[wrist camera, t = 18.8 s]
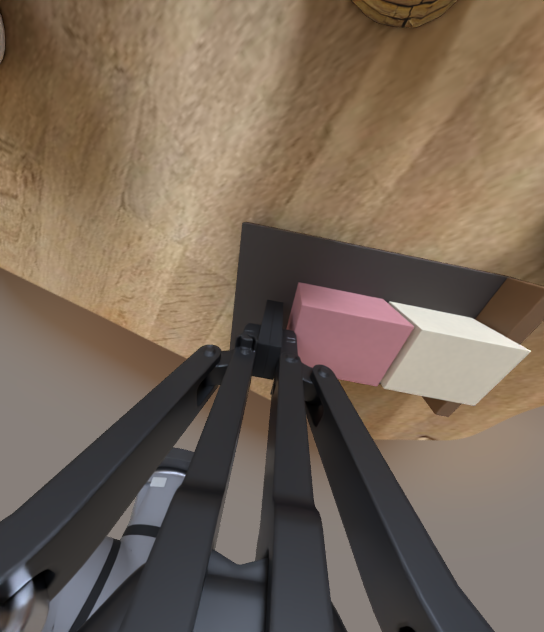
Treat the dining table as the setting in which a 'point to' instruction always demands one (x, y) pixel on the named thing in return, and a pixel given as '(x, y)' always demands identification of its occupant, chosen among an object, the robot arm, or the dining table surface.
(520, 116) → the dining table surface
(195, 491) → the robot arm
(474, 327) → the cream block
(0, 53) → the trinket box
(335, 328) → the pink block
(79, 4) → the dining table surface
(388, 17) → the wooden mug
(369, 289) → the backrest board
